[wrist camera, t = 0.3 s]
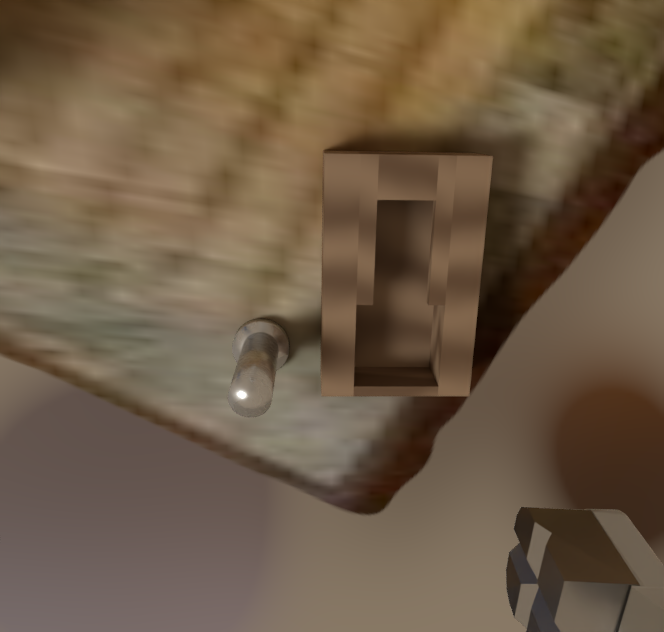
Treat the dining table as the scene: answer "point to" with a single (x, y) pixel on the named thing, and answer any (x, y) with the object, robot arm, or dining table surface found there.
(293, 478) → the dining table surface
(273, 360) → the steel peg
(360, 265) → the wooden compartment tray
